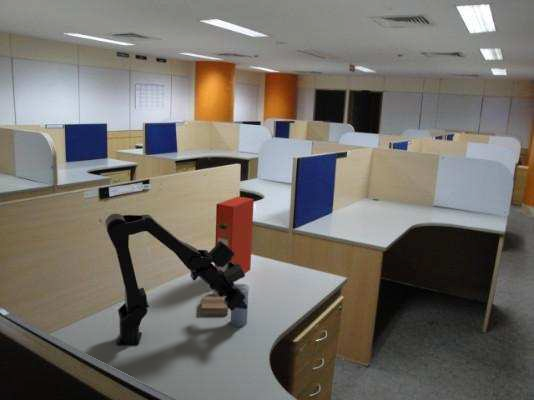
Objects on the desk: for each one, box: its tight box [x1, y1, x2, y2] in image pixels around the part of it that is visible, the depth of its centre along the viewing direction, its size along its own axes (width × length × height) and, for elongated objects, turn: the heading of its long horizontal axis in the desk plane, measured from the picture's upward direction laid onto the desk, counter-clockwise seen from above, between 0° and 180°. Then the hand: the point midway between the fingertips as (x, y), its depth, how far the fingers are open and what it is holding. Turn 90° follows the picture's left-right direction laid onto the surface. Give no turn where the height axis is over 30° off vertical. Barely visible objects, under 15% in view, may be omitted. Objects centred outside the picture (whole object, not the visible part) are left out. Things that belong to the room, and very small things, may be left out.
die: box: [210, 282, 236, 297], centre depth 169 cm, size 8×9×10 cm
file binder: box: [214, 196, 255, 274], centre depth 187 cm, size 8×17×32 cm, turn 154°
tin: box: [230, 282, 250, 328], centre depth 149 cm, size 6×6×13 cm
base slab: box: [201, 296, 229, 316], centre depth 158 cm, size 9×9×2 cm
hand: (243, 304), depth 149 cm, fingers closed on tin, 5 cm apart
